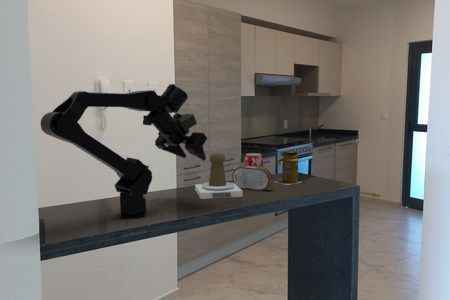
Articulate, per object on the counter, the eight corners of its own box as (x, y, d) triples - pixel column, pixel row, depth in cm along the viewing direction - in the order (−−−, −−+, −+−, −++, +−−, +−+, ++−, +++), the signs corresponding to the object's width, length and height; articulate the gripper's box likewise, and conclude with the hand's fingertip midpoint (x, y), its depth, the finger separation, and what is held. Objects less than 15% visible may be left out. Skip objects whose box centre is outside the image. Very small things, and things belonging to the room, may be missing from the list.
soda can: (266, 185, 154) (266, 153, 152) (257, 189, 148) (257, 155, 146) (249, 183, 157) (249, 152, 156) (240, 186, 151) (240, 154, 150)
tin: (272, 190, 145) (273, 167, 144) (269, 192, 142) (269, 168, 141) (235, 186, 152) (234, 164, 151) (231, 188, 149) (231, 165, 148)
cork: (227, 186, 138) (227, 153, 137) (209, 186, 137) (209, 154, 136) (224, 182, 144) (224, 151, 142) (207, 183, 143) (207, 152, 142)
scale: (200, 199, 132) (200, 190, 132) (195, 190, 146) (195, 181, 146) (242, 197, 135) (242, 188, 135) (233, 188, 149) (233, 180, 149)
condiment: (302, 182, 160) (302, 151, 158) (289, 185, 154) (289, 153, 152) (287, 180, 165) (287, 150, 163) (274, 182, 159) (274, 152, 158)
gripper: (202, 104, 117) (229, 140, 126) (161, 104, 129) (188, 137, 139) (181, 134, 112) (210, 169, 121) (141, 131, 125) (170, 163, 134)
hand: (194, 158), depth 129 cm, fingers open, 9 cm apart
